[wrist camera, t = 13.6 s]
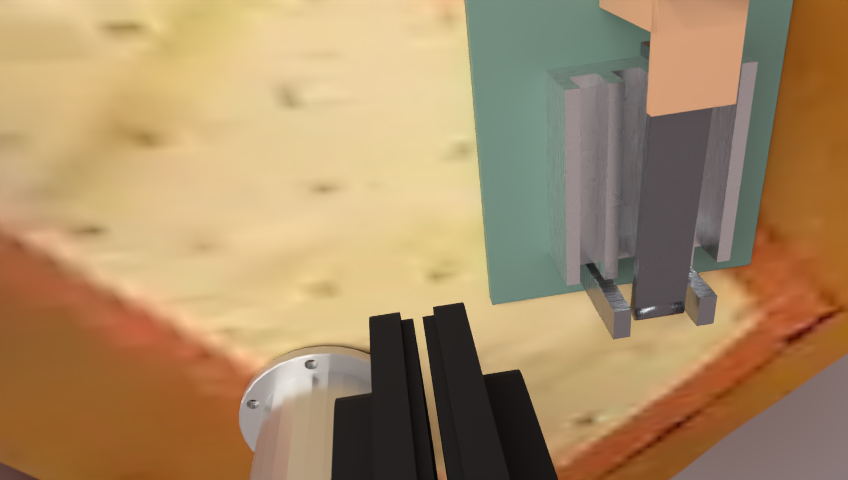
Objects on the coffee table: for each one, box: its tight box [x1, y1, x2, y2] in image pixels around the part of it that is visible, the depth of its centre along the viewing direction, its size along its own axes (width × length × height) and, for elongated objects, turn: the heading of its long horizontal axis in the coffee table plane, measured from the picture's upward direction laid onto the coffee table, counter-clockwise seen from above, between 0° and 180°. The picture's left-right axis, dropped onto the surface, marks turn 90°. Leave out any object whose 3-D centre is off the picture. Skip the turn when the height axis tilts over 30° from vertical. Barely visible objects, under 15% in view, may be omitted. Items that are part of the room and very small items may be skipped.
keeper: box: [599, 0, 749, 117], centre depth 31 cm, size 6×4×7 cm
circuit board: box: [465, 0, 793, 305], centre depth 38 cm, size 22×18×1 cm
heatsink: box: [544, 55, 758, 339], centre depth 36 cm, size 14×10×6 cm
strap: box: [631, 41, 713, 320], centre depth 34 cm, size 16×3×2 cm, turn 7°
